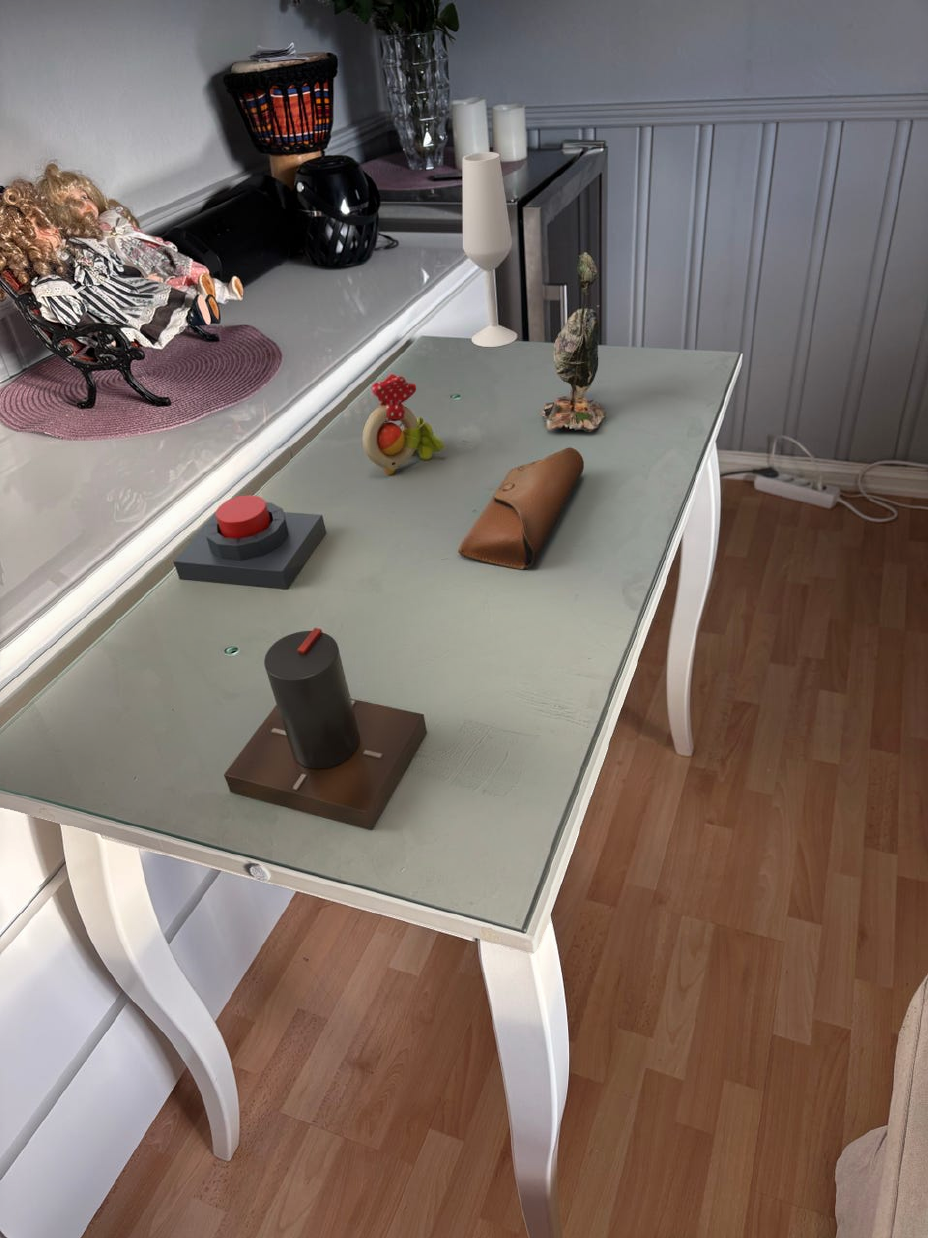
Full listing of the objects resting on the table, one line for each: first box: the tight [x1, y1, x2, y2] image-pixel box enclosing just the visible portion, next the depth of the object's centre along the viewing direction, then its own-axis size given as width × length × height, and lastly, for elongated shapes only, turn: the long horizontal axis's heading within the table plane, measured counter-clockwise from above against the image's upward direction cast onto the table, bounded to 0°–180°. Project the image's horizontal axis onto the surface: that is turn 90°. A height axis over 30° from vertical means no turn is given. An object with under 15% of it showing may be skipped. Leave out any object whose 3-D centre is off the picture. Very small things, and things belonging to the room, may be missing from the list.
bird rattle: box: [362, 374, 445, 475], centre depth 102 cm, size 6×11×9 cm
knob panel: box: [223, 698, 428, 831], centre depth 69 cm, size 12×10×2 cm
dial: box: [263, 627, 360, 769], centre depth 66 cm, size 5×5×9 cm
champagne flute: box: [462, 151, 518, 348], centre depth 124 cm, size 7×7×24 cm
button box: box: [172, 501, 327, 590], centre depth 92 cm, size 12×10×4 cm
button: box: [215, 494, 270, 539], centre depth 91 cm, size 5×5×2 cm
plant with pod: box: [540, 251, 606, 433], centre depth 104 cm, size 8×11×20 cm
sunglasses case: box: [457, 447, 585, 571], centre depth 93 cm, size 18×7×7 cm, turn 160°
